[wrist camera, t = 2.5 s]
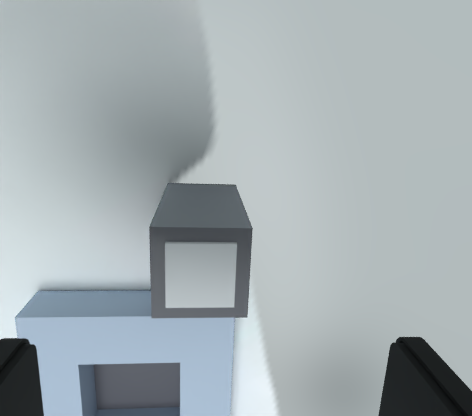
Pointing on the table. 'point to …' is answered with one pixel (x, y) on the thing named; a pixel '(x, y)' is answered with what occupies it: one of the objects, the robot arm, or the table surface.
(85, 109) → the table surface
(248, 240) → the block
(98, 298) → the outlet plate
